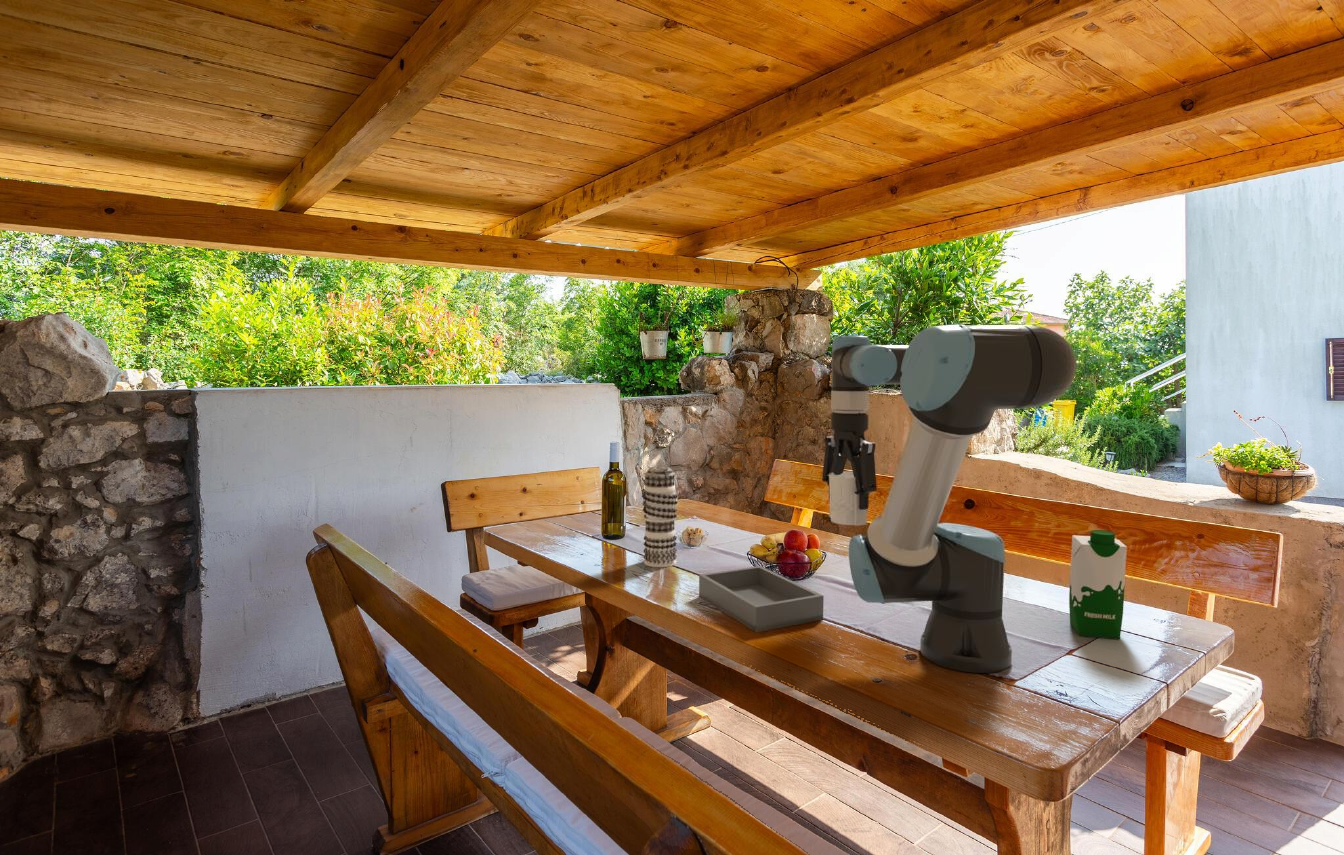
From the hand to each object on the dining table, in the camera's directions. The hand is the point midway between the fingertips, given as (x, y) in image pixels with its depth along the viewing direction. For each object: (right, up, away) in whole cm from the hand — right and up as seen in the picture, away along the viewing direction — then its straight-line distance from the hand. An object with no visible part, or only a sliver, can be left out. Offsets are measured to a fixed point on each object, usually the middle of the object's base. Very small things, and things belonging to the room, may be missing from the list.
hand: (847, 520), depth 154 cm
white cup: (0, 0, 0) cm, 0 cm away
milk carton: (+45, -20, -11) cm, 51 cm away
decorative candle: (-40, -16, +39) cm, 58 cm away
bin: (-18, -19, +4) cm, 27 cm away
